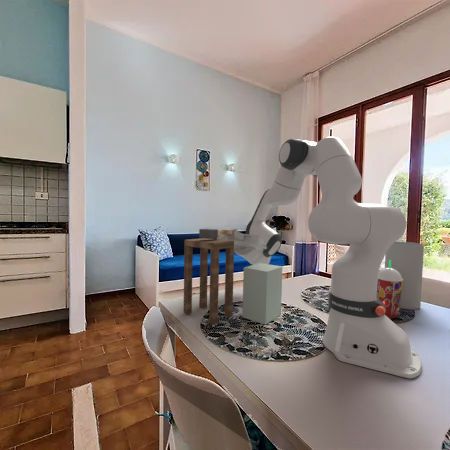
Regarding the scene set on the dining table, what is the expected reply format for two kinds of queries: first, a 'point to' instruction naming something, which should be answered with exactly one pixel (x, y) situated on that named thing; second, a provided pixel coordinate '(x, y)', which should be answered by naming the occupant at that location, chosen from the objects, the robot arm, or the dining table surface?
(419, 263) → the cylinder vase
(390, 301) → the smoothie
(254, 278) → the pale green block
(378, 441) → the dining table surface
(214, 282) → the plant stand
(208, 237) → the mallet
